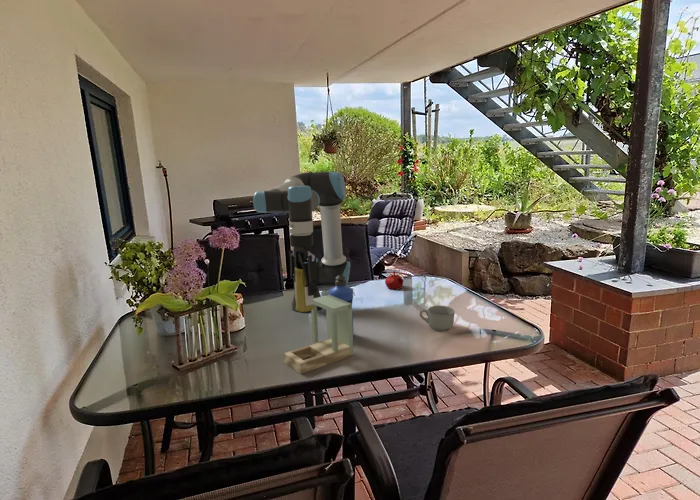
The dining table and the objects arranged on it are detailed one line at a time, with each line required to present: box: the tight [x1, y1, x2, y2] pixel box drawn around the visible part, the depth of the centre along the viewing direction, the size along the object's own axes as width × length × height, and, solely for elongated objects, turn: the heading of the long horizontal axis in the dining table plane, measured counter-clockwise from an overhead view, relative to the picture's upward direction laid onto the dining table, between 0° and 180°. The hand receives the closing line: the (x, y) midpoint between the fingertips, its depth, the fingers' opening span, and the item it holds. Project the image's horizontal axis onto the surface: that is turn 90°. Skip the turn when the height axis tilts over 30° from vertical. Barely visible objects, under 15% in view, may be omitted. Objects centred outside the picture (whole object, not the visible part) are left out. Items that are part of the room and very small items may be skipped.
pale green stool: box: [310, 294, 354, 356], centre depth 158 cm, size 14×8×19 cm, turn 38°
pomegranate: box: [384, 270, 404, 290], centre depth 237 cm, size 10×10×9 cm
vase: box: [295, 266, 314, 313], centre depth 146 cm, size 6×6×14 cm
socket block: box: [283, 338, 352, 375], centre depth 153 cm, size 11×20×4 cm, turn 128°
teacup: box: [418, 305, 455, 331], centre depth 179 cm, size 14×11×8 cm
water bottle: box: [328, 275, 355, 338], centre depth 171 cm, size 9×9×25 cm
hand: (304, 302), depth 147 cm, fingers closed on vase, 6 cm apart
